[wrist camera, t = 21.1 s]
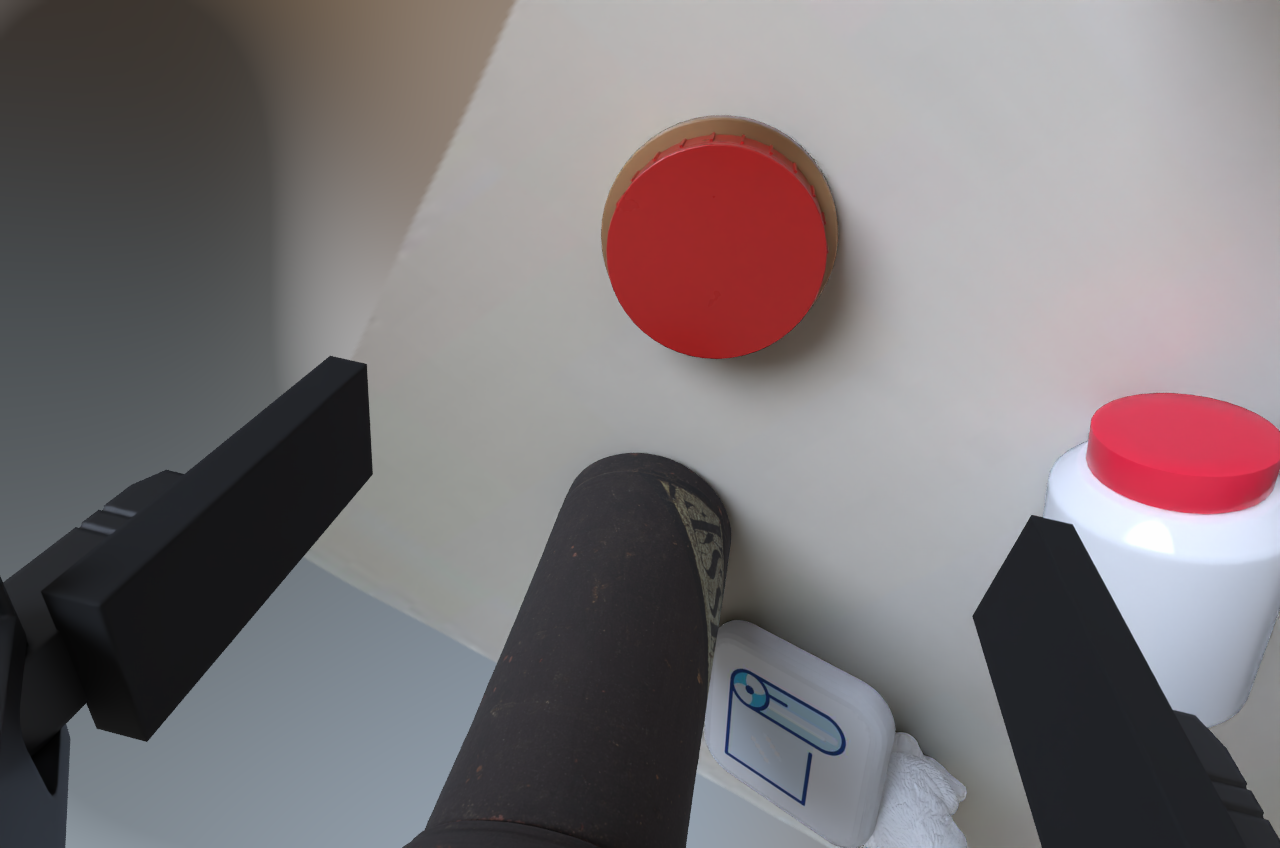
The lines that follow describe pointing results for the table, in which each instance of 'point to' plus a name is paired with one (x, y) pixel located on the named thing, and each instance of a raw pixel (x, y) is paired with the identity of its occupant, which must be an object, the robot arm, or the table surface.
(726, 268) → the jar lid
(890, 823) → the koala figurine
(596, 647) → the container
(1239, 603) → the pill bottle
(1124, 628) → the robot arm
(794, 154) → the coaster
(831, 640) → the table surface
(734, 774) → the button
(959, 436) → the table surface
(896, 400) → the table surface
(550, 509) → the table surface
